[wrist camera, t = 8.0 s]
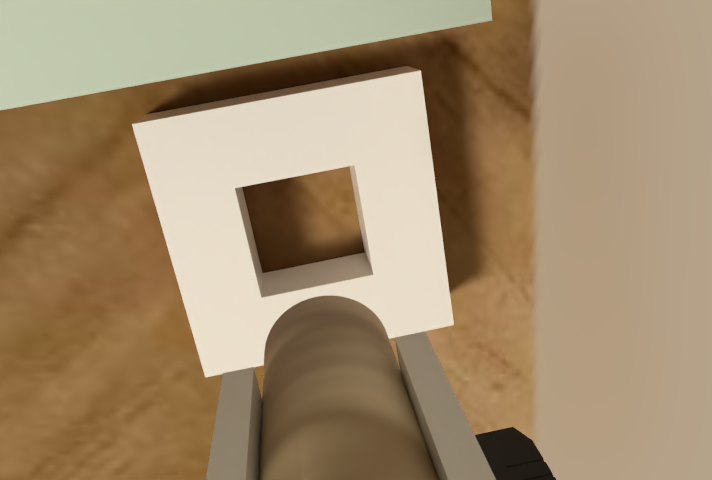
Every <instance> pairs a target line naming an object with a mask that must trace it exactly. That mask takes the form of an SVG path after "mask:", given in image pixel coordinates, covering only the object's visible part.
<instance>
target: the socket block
mask: <svg viewBox="0 0 712 480" xmlns="http://www.w3.org/2000/svg"><path fill="white" fill-rule="evenodd" d="M132 126H133V130H134V133H135V136H136V140H137V143H138V147H139V150H140V154H141V157H142V161H143V164H144V167H145V171H146V174H147V178H148V181H149V185H150V188H151V192H152V195H153V198H154V202H155V205H156V209H157V212H158V216H159V219H160V223H161V226H162V229H163V233H164V236H165V240H166V243H167V247H168V250H169V254H170V257H171V260H172V264H173V267H174V271H175V274H176V278H177V281H178V285H179V288H180V291H181V295H182V298H183V302H184V305H185V309H186V312H187V316H188V319H189V322H190V326H191V329H192V333H193V336H194V340H195V343H196V347H197V350H198V353H199V357H200V360H201V364H202V367H203V371H204V374H205V377H210V376H215V375H219V374H223V373H227V372H231V371H236V370H241V369H246V368H251V367H257V366H262V365H264V352H265V344H266V340H267V337H268V334H269V332H270V330H271V328H272V326H273V325H274V323H275V322H276V321H277V320H278V318H279V317H280V316H281V315H282V314H283V313H284V312H285V311H287V310H288V309H289V308H291V307H292V306H294V305H296V304H297V303H299V302H301V301H304V300H307V299H310V298H313V297H318V296H332V295H333V296H342V297H346V298H350V299H353V300H355V301H358V302H360V303H362V304H363V305H365V306H366V307H368V308H369V309H370V310H372V311H373V312H374V313H375V314H376V315H377V317H378V318H379V319H380V320H381V322H382V324H383V326H384V327H385V330H386V332H387V335H388V338H389V339H390V338H394V337H399V336H404V335H409V334H413V333H418V332H423V331H428V330H432V329H437V328H442V327H446V326H451V325H454V323H453V315H452V307H451V299H450V292H449V284H448V276H447V268H446V261H445V253H444V245H443V238H442V230H441V222H440V214H439V207H438V199H437V191H436V183H435V176H434V168H433V160H432V152H431V145H430V137H429V129H428V121H427V114H426V106H425V98H424V90H423V83H422V75H421V70H418V69H415V68H412V67H408V66H404V67H398V68H393V69H388V70H382V71H377V72H371V73H366V74H361V75H355V76H350V77H345V78H339V79H334V80H328V81H323V82H318V83H312V84H307V85H302V86H296V87H291V88H285V89H280V90H275V91H269V92H264V93H258V94H253V95H248V96H242V97H237V98H232V99H226V100H221V101H215V102H210V103H205V104H199V105H194V106H188V107H183V108H178V109H172V110H167V111H162V112H156V113H151V114H146V115H145V116H143V117H142V118H140V119H139V120H137V121H136V122H135V123H133V124H132ZM347 166H350V172H351V178H352V183H353V189H354V195H355V200H356V206H357V212H358V217H359V223H360V229H361V235H362V240H363V246H364V252H365V253H360V254H355V255H350V256H345V257H340V258H335V259H330V260H325V261H321V262H316V263H311V264H306V265H301V266H296V267H291V268H286V269H281V270H276V271H271V272H266V273H262V269H261V264H260V260H259V256H258V252H257V248H256V243H255V239H254V235H253V231H252V227H251V222H250V218H249V214H248V210H247V206H246V202H245V197H244V193H243V189H242V187H244V186H250V185H255V184H260V183H265V182H270V181H275V180H280V179H286V178H291V177H296V176H301V175H306V174H311V173H317V172H322V171H327V170H332V169H337V168H342V167H347Z"/></svg>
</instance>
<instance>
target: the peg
mask: <svg viewBox="0 0 712 480" xmlns="http://www.w3.org/2000/svg"><path fill="white" fill-rule="evenodd" d="M259 480H439V479H438V476H437V473H436V471H435V468H434V465H433V462H432V459H431V457H430V454H429V451H428V448H427V445H426V443H425V440H424V437H423V434H422V431H421V429H420V426H419V423H418V420H417V417H416V414H415V412H414V409H413V406H412V403H411V400H410V398H409V395H408V392H407V389H406V386H405V384H404V381H403V378H402V375H401V371H400V369H399V366H398V363H397V360H396V357H395V355H394V352H393V349H392V346H391V343H390V341H389V338H388V335H387V332H386V330H385V327H384V326H383V324H382V322H381V320H380V319H379V318H378V317H377V315H376V314H375V313H374V312H373V311H372V310H370V309H369V308H368V307H366V306H365V305H363V304H362V303H360V302H358V301H355V300H353V299H350V298H346V297H342V296H333V295H332V296H318V297H313V298H310V299H307V300H304V301H301V302H299V303H297V304H296V305H294V306H292V307H291V308H289V309H288V310H287V311H285V312H284V313H283V314H282V315H281V316H280V317H279V318H278V320H277V321H276V322H275V323H274V325H273V326H272V328H271V330H270V332H269V334H268V337H267V340H266V344H265V352H264V375H263V398H262V421H261V444H260V467H259Z"/></svg>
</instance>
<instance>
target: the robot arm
mask: <svg viewBox="0 0 712 480" xmlns="http://www.w3.org/2000/svg"><path fill="white" fill-rule="evenodd" d="M395 341H396V347H397V353H398V359H399V365H400V371H401V375H402V378H403V381H404V384H405V386H406V389H407V392H408V395H409V398H410V400H411V403H412V406H413V409H414V412H415V414H416V417H417V420H418V423H419V426H420V429H421V431H422V434H423V437H424V440H425V443H426V445H427V448H428V451H429V454H430V457H431V459H432V462H433V465H434V468H435V471H436V473H437V476H438V479H439V480H556V479H555V477H553V475H552V472H551V470H550V469H549V467H548V465H547V464H546V462H544V460H543V457H542V456H541V454H540V452H539V451H538V449H537V448H536V446H535V444H534V443H533V441H532V440H531V439H529V438H528V437H527V436H525V435H524V434H522V433H521V432H519V431H518V430H516V429H515V428H514V427H511V428H506V429H501V430H497V431H492V432H488V433H483V434H478V435H474V433H473V431H472V429H471V426H470V424H469V422H468V420H467V418H466V416H465V414H464V412H463V410H462V408H461V406H460V404H459V401H458V399H457V397H456V395H455V393H454V391H453V389H452V387H451V385H450V383H449V381H448V379H447V377H446V374H445V372H444V370H443V368H442V366H441V364H440V362H439V360H438V358H437V356H436V354H435V352H434V349H433V347H432V345H431V343H430V341H429V339H428V337H427V335H426V333H425V331H424V332H420V333H415V334H410V335H405V336H400V337H395ZM261 421H262V398H261V394H260V390H259V386H258V382H257V378H256V374H255V370H254V367H251V368H246V369H241V370H236V371H231V372H227V373H223V375H222V382H221V388H220V394H219V401H218V407H217V413H216V420H215V426H214V432H213V439H212V445H211V451H210V457H209V464H208V470H207V476H206V480H259V467H260V444H261Z"/></svg>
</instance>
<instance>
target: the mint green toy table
mask: <svg viewBox="0 0 712 480" xmlns="http://www.w3.org/2000/svg"><path fill="white" fill-rule="evenodd" d="M491 20H492V12H491V1H490V0H0V110H5V109H10V108H16V107H21V106H27V105H32V104H38V103H43V102H49V101H54V100H60V99H65V98H70V97H76V96H81V95H87V94H92V93H98V92H103V91H109V90H114V89H120V88H125V87H131V86H136V85H142V84H147V83H152V82H158V81H163V80H169V79H174V78H180V77H185V76H191V75H196V74H202V73H207V72H213V71H218V70H224V69H229V68H234V67H240V66H245V65H251V64H256V63H262V62H267V61H273V60H278V59H284V58H289V57H295V56H300V55H306V54H311V53H316V52H322V51H327V50H333V49H338V48H344V47H349V46H355V45H360V44H366V43H371V42H377V41H382V40H388V39H393V38H398V37H404V36H409V35H415V34H420V33H426V32H431V31H437V30H442V29H448V28H453V27H459V26H464V25H470V24H475V23H480V22H486V21H491Z"/></svg>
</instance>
